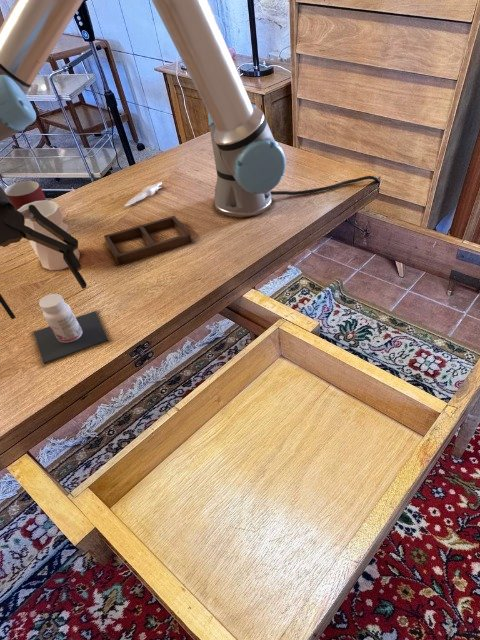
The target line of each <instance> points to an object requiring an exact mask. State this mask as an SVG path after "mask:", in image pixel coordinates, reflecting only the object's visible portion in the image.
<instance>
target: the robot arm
mask: <svg viewBox="0 0 480 640" xmlns="http://www.w3.org/2000/svg"><path fill="white" fill-rule="evenodd" d="M83 2H84V0H15V1H14V2H13V4H12V6H11V8H10V9H9V11H8V13H7V15H6V17H5V18H4V20H3V22H2V24H1V26H0V143H1V142H2V141H4V140H6V139H8V138H10V137H12V136H14V135H15V134H18V133H20V132H23V131H24V130H25V129H26V128H28V127H29V126H30V125H32V124H33V123H34V122H36V119H37V113H36V111H35V109H34V107H33V104H32V103H31V101H30V100H29V99H28V96H27V94H28V92H29V91H30V89H31V86H32V85H33V84H34V82H35V80H36V78H37V77H38V75H39V73H40V71H41V70H42V68H43V67H44V65H45V63H46V62H47V60H48V59H49V57H50V55H51V54H52V52H53V51H54V50H55V47H56V45H57V44H58V42H59V40H60V39H61V37H62V36H63V34H64V33H65V31H66V29H67V28H68V26H69V24H70V23H71V22H72V21H73V20H72V19H73V18H74V17H75V14H76V13H77V12H78V10H79V9H80V7H81V6H82V3H83ZM151 2H152V4H153V6H154V8H155V10H156V12H157V14H158V16H159V17H160V19H161V21H162V24H163V25H164V27H165V29H166V32H167V34H168V35H169V38H170V39H171V41H172V43H173V45H174V47H175V49H176V51H177V54H178V55H179V57H180V60H181V61H182V63H183V66H184V67H185V69H186V71H187V73H188V75H189V77H190V79H191V81H192V83H193V85H194V87H195V89H196V91H197V93H198V95H199V96H200V99H201V100H202V103H203V104H204V107H205V108H206V110H207V112H208V113H207V119H208V124H207V125H208V127H209V132H210V139H211V145H212V151H213V158H214V163H215V169H216V170H215V171H216V184H215V187H214V197H213V199H214V201H213V202H214V208H215V210H216V211H217V212H218V213H219V214H221V215H223V216H226V217H229V218H236V219H237V218H238V219H239V218H240V219H241V218H251V217H255V216H259V215H262V214H263V213H265V212H266V211H268V210H270V208H271V207H272V204H273V203H272V202H273V201H272V196H279V195H282V196H283V195H284V196H285V195H287V196H298V195H306V194H313V193H317V192H323V191H329V190H332V189H335V188H339V187H342V186H345V185H348V184H354V183H357V182H361V181H362V182H363V181H366V180H373V181H375V182H376V183H381V179H379V178H378V177H376V176H373V175H365V176H361V177H358V178H357V177H356V178H353V179H347V180H343V181H341V182H338V183H335V184H331V185H327V186H323V187H317V188H313V189H312V188H311V189H305V190H296V191H295V190H294V191H291V190H275V191H274V188H276V187H277V186H278V185H279V184H280V182H281V181H282V179H283V176H284V174H285V172H286V166H287V160H286V155H285V152H284V150H283V148H282V146H281V145H280V143H278V141H276V140H275V138H274V136H273V133H272V131H271V128H270V126H269V123H268V121H267V119H266V117H265V114H264V112H263V110H262V109H260V108H258V107H257V105H255V104H254V103H252V102H251V99H250V97H249V95H248V92H247V90H246V88H245V86H244V83H243V81H242V78H241V76H240V73H239V71H238V68H237V67H236V64H235V62H234V59H233V57H232V53H231V51H230V50H229V47H228V45H227V43H226V41H225V38H224V36H223V32H222V31H221V28H220V26H219V24H218V20H217V19H216V17H215V14H214V12H213V8H212V7H211V5H210V2H209V0H151ZM4 190H5V189H3V187H1V186H0V247H3V248H5V247H9V246H10V245H11V244H16V243H19V242H21V241H22V239H25V240H27V241H29V240H30V241H31V240H32V241H34V242H37V243H39V244H41V245H44V246H46V247H48V248H51V249H53V250H55V251H58V252H60V253H62V254H63V259H64V261H65V262H66V264H67V265H68V267H67V268H68V269H69V270H70V272H71V273H72V275H73V276H74V278H75V280H76V281H77V283H78V284H79V286H80V287H81V289H82V290H84V289H86V288H87V282H86V280H85V278H84V277H83V276H82V274H81V273H80V270H82V264H81V262H80V260H78V259H77V257H76V256H75V254H74V252H73V251H74V250H75V249H77V248H78V249H79V240H78V239H77V238H76V237H74V236H73V235H72V234H71V235H70V234H68V233H67V232H66V231H64V230H63V229H61V228H60V227H58V226H57V225H56V224H54V223H53V222H51V221H50V220H49V219H47V218H46V217H44V216H43V215H42V214H41V213H40V212H39V211H38V209H37V208H36V207H35V206H34V205H29V209H27V210H25V211H23V212H19V211H18V210H16V209H15V207H14V206H13V204H12V203H11V201H10V199H9V198H8V196H7V195H6V193H5V192H4ZM25 219H29V220H31V221H32V222H35V221H36V222H37V223H38V224H39V225H40V226H41V227H43V228H44V229H46V230H47V231H49V232H50V233H51V234H53V235H54V236H56V237H57V238H59V239H60V240H62V241H63V242H64V243H66V244H67V245H66V244H64V243H62V242H60V241H57V240H55V239H53V238H50V237H48V236H46V235H44V234H41V233H39V232H37V231H34V230H33V229H31V228H30V227H27V226H25V225H24V223H25ZM0 305H1V306H2V308H3V309H4V310H5V312H6V313H7V315H8V316H9V318H10V319H11V320H14V319H16V318H17V317H16V315H15V314H14V312H13V311H12V309H11V307H10V306H9V304H7V302H6V300H5V299H4V297H3V296H2V294H1V293H0Z"/></svg>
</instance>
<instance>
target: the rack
mask: <svg viewBox="0 0 480 640" xmlns="http://www.w3.org/2000/svg"><path fill="white" fill-rule="evenodd" d="M173 226H174V227H175V229H176V230H177V232H179V233H180V235H179V236H174V237H170V238H168V239H165V240H162V241H158V242H155V241H154V240H153V238H152V237H151V236H150V233H153V232H157V231H160V230H164V229H166V228H170V227H173ZM188 231H189V230H187V229H186V228H185V227H184V225H183V223H181V222H180V221H179V219H178V218H177V217H176V216H175V215H171V216H168V217H164V218H161V219H157V220H154V221H149V222H147V223H143V224H139V225H137V226H133V227H129V228H126V229H122V230H120V231H115V232H111V233H107V234H104V235H103V238H104V241H105V243H106V245H107V247H108V249H109V250H110V252H111V253H112V255H113V257H114V259H115V261H116V262H117V264H118V265H119V266H120V265H123V264H126V263H129V262H133V261H136V260H140V259H143V258H146V257H150V256H152V255H156V254H159V253H162V252H165V251H168V250H171V249H175V248H178V247H182V246H185V245H188V244H191V243H193V239H192V236H191V234H190V232H188ZM139 236H141V237H142V238H143V240H144V241H145V242H146V244H147V245H145V246H141V247H138V248H135V249H131V250H128V251H125V252H121V253H119V251H118V249H117V248H116V246H115V243H118V242H122V241H125V240H129V239H132V238H133V239H134V238H136V237H139Z"/></svg>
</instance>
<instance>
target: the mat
mask: <svg viewBox="0 0 480 640" xmlns="http://www.w3.org/2000/svg"><path fill="white" fill-rule="evenodd" d="M75 317H76V316H75ZM76 319H77V321H78V323H79V325H80V327H81V329H82V335H81V336H80V338H78V339H77V340H75V341H73V342H69V343H63V342H60V341H59V340H58V339H57V338H56V336H55V334H54V333H53V331H52V329H51V328H50V326H47V327H44V328H40V329H38V330H35V331H33V334H34V337H35V341H36V344H37V347H38V350H39V353H40V357H41V360H42V364H43V365H46V364H49V363H52V362H54V361H57V360H60V359H62V358H63V359H64V358H65V357H68V356H72V355H74V354H76V353H79V352H82V351H84V350H88V349H90V348H93V347H96V346H99V345H102V344H105V343H107V342H110V340H109V338H108V335H107V333H106V332H105V330H104V327H103V325H102V322H101V320H100V318H99V316H98V313H97V312H96V311H95V310H94V311H91V312H89V313H86V314H83V315H80V316H77V317H76Z"/></svg>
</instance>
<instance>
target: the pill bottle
mask: <svg viewBox="0 0 480 640" xmlns="http://www.w3.org/2000/svg"><path fill="white" fill-rule="evenodd" d="M38 304H39V307H40V309H41V311H42V316H43V318H44V320H45V321H46V323H47V324H48V327H50V328H51V329H52V331H53V333H54V334H55V336H56V338H57V339H58V340H59V341H60V342H63V343H69V342H73V341H75V340H77V339H78V338H80V336H81V335H82V329H81V327H80V325H79V323H78V321H77V319H76V316H75V313H74V312H73V310H72V308H71V306H70V305H69V304H68V302H66V301H65V300H64V297H63V296H62V295H61V294H59V293H49V294H47V295H44V296H43V297H41V298H40V299H39V301H38Z"/></svg>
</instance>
